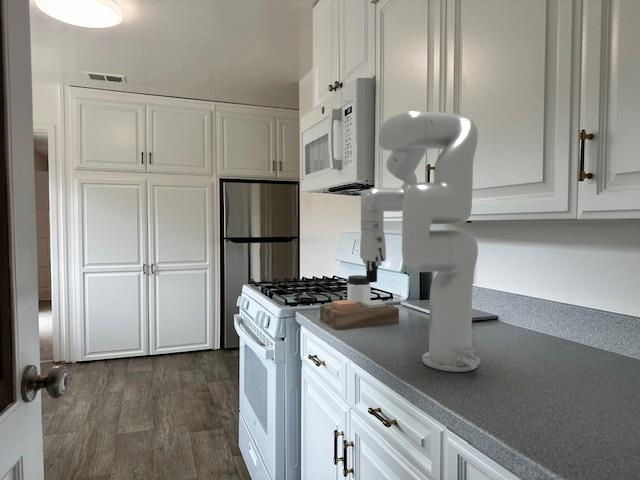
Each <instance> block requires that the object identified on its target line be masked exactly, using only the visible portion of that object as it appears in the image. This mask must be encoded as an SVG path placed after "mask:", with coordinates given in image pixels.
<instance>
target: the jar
mask: <svg viewBox="0 0 640 480" xmlns="http://www.w3.org/2000/svg"><path fill="white" fill-rule="evenodd" d="M346 284H347V285H346V286H347V290H346V294H347V297H346V300H350V301H353V302H364V301H371V295H372V294H371V292H372V291H371V290H372V289H371V288H372V287H371V286H372V285H371V284H372V283H369V282H367V281H366V275H361V274H360V275H358V274H356V275H355V274H354V275H349V276H348V277H347V283H346Z"/></svg>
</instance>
